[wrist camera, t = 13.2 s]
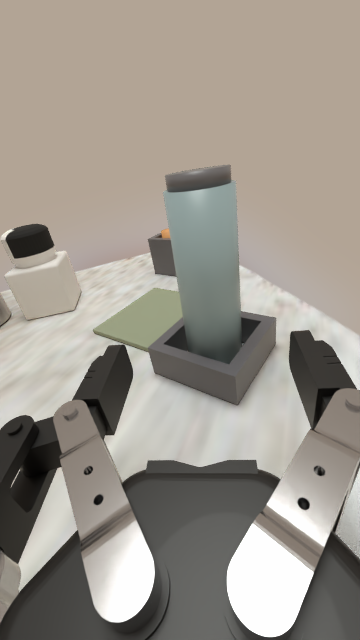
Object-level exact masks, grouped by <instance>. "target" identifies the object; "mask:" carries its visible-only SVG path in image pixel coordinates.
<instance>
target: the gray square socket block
mask: <svg viewBox="0 0 360 640" xmlns="http://www.w3.org/2000/svg"><path fill="white" fill-rule="evenodd" d="M148 242H149V246H150V250H151V255H152V260H153V265H154V269H155V274H163V275H171V276H176V270H175V264H174V257H173V251H172V245H171V238H162V234H161V233H160V234H157V235H155V236H153V237H151V238H149V239H148Z"/></svg>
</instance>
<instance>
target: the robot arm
mask: <svg viewBox="0 0 360 640" xmlns="http://www.w3.org/2000/svg"><path fill="white" fill-rule="evenodd" d="M10 315H11V312H10V310H9V308H8V306H7V304H6V302H5V301H4V299H3V297H2V295H1V293H0V325H2V324H3V323H4V322H5V321H7V320H8V318H9V317H10ZM289 364H290V369H291V372H292V375H293V378H294V381H295V384H296V387H297V389H298V392H299V395H300V398H301V401H302V403H303V406H304V409H305V412H306V415H307V417H308V420H309V423H310V426H311V429H310V430H309V432H308V433H307V435H306V436H305V438H304V440H303V442H302V444H301V445H300V447H299V449H298V451H297V452H296V454H295V456H294V458H293V459H292V461H291V463H290V465H289V466H288V468H287V470H286V472H285V473H284V475H283V477H282V479H279V478H278V477H276V476H274V475H273V474H271V473H268V472H266V471H263V470H259V469H257V463H256V460H227V461H223V462H219V463H216V464H212V465H208V466H204V467H196V466H192V465H189V464H185V463H181V462H177V461H174V460H158V461H148V463H147V468H146V470H143V471H140V472H138V473H136V474H134V475H132V476H130V477H129V478H128V479H126V480H125V481H124V482H122V479H121V477H120V475H119V473H118V471H117V468H116V466H115V464H114V462H113V459H112V457H111V455H110V453H109V450H108V448H107V446H106V444H105V442H104V437H105V435H114V434H115V431H116V428H117V425H118V422H119V419H120V416H121V413H122V410H123V407H124V404H125V401H126V398H127V394H128V391H129V388H130V385H131V382H132V379H133V369H132V365H131V362H130V359H129V356H128V353H127V350H126V347H125V345H110V346H108V347H107V349H106V351H105V353H104V355H103V356H99V357H98V358H97V359H96V360H95V361H94V362H93V363H92V364H91V366H90V368H89V369H88V372H87V373H86V375H85V377H84V379H83V381H82V383H81V384H80V386H79V388H78V390H77V392H76V394H75V396H74V397H73V399H72V401H69V402H67V403H65V404H64V405H62V406H61V407H60V408H59V409H58V410H57V411H56V413H55V414H54V416H53V417H50V418H47V419H44V420H40V421H37V422H34V420H33V419H32V417H31V416H27V415H23V416H19V417H16V418H14V419H12V420H11V421H9V422H8V423H6V424H5V425H4V426H3V427H2V428H1V430H0V640H360V559H359V558H358V557H357V556H356V555H355V554H354V553H353V552H352V551H351V550H350V549H349V547H348V546H347V545H346V544H345V543H344V542H343V541H342V540H341V539H340V538H339V537H338V536H337V535H336V531H337V528H338V526H339V523H340V520H341V518H342V515H343V512H344V509H345V506H346V503H347V500H348V498H349V495H350V492H351V490H352V487H353V485H354V482H355V479H356V477H357V474H358V471H359V469H360V390H357V388H356V387H355V385H354V383H353V382H352V380H351V378H350V377H349V375H348V373H347V372H346V370H345V368H344V367H343V365H342V364H341V362H340V360H339V358H338V357H337V355H336V353H335V351H334V350H333V348H332V347H331V346H330V345H328V344H327V343H326V342H324V341H323V340H321V341H315V340H314V338H313V336H312V334H311V332H310V331H309V330H305V331H292V332H291V335H290V350H289ZM59 467H62V470H63V474H64V478H65V482H66V485H67V489H68V493H69V497H70V501H71V505H72V509H73V513H74V517H75V521H76V525H77V529H78V530H77V531H76V532H75V533H74V534H73V535H72V536H71V537H70V539H69V540H68V541H67V542H66V543H65V544H64V545H63V546H62V547H61V548H60V549H59V550H58V551H57V552H56V553H55V555H54V556H53V557H52V558H51V559H50V560H49V561H48V562H47V563H46V564H45V565H44V566H43V567H42V568H41V570H40V571H39V572H38V573H37V574H36V575H35V576H34V577H33V578H32V579H31V580H30V581H29V582H28V583H27V584H26V586H25V587H24V588H23V589H22V590H21V591H20V592H19V589H18V588H19V584H20V579H21V571H20V567H19V566H18V563H19V560H20V558H21V555H22V553H23V551H24V548H25V546H26V543H27V541H28V538H29V536H30V534H31V531H32V529H33V526H34V524H35V521H36V519H37V517H38V514H39V512H40V509H41V507H42V504H43V502H44V500H45V497H46V495H47V492H48V490H49V487H50V485H51V483H52V480H53V478H54V475H55V473H56V470H57V468H59ZM19 469H20V472H19V474H18V476H17V478H16V479H15V481H14V483H13V485H12V482H13V480H14V478H15V477H16V475H17V473H18V471H19ZM11 485H12V487H11Z"/></svg>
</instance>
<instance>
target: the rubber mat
mask: <svg viewBox="0 0 360 640" xmlns="http://www.w3.org/2000/svg"><path fill="white" fill-rule="evenodd" d="M182 317H183V314H182V308H181V301H180V295H179V292H177V291H171V290H165V289H159V288H153V289H152V290H151V291H149V292H148V293H146V294H145V295H143V296H142V297H140V298H139V299H137V300H136V301H134V302H133V303H131V304H130V305H129V306H127V307H126V308H124V309H123V310H121V311H120V312H118V313H117V314H115V315H114V316H112V317H111V318H109V319H108V320H107V321H105V322H104V323H102V324H101V325H99V326H98V327H96V328H95V329H93V331H94V333H95V334H98V335H101V336H104V337H107V338H110V339H113V340H116V341H119V342H122V343H125V344H127V345H130V346H133V347H136V348H139V349H142V350H145V351H148V347H149V346H150V345H151V344H152V343H154V342H155V341H156V340H157V339H158V338H159V337H160V336H161V335H163V334H164V333H165V332H166V331H167V330H168V329H169V328H171V327H172V326H173V325H174V324H175V323H176V322H177V321H179V320H180V319H181V318H182ZM148 352H149V351H148Z"/></svg>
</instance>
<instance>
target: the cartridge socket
mask: <svg viewBox="0 0 360 640" xmlns="http://www.w3.org/2000/svg"><path fill="white" fill-rule="evenodd" d="M241 329H242V342H243V343H245V344H244V345H243V346H242V348H241V349H240V350H239V352H238V353H237V354H236V356H235V357H234V358H233V360H232V361H231V362H230V364H226V363H223V362H220V361H216V360H213V359H210V358H207V357H203V356H200V355H197V354H194V353H190V352H187V350H188V345H187V339H186V333H185V326H184V320H183V317H182V318H181V319H180V320H179V321H177V322H176V323H175V324H174V325H173V326H172V327H171V328H169V329H168V330H167V331H166V332H165V333H164V334H163V335H161V336H160V337H159V338H158V339H157V340H156V341H155V342H154V343H152V344H151V345H150V346H149V347H148V351H149V354H150V358H151V362H152V365H153V369H154V372H155V373H156V374H159V375H162V376H164V377H167V378H169V379H172V380H174V381H177V382H179V383H182V384H184V385H187V386H190V387H192V388H195V389H197V390H200V391H202V392H205V393H207V394H210V395H212V396H215V397H218V398H220V399H223V400H225V401H228V402H230V403H233V404H235V405H238V404H239V402H240V400H241V399H242V397H243V396H244V394H245V392H246V391H247V389H248V387H249V386H250V384H251V383H252V381H253V379H254V378H255V376H256V375H257V373H258V371H259V370H260V368H261V367H262V365H263V363H264V362H265V360H266V358H267V357H268V355H269V354H270V352H271V350H272V349H273V347H274V346H275V344H276V318H274V317H269V316H264V315H258V314H253V313H248V312H242V311H241Z"/></svg>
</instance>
